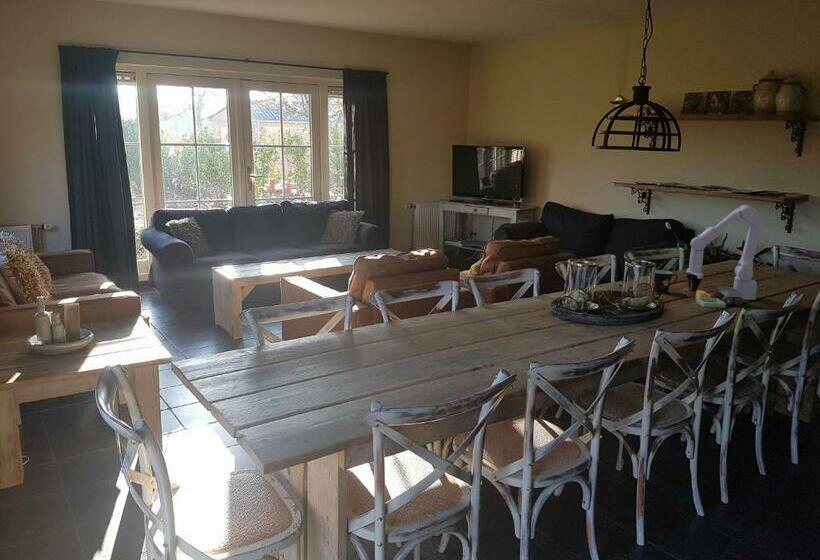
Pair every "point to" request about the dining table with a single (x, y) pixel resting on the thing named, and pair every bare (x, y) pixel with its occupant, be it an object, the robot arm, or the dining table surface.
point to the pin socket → (688, 293)
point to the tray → (711, 302)
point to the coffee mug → (663, 281)
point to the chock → (702, 294)
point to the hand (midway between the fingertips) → (693, 289)
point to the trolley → (729, 295)
